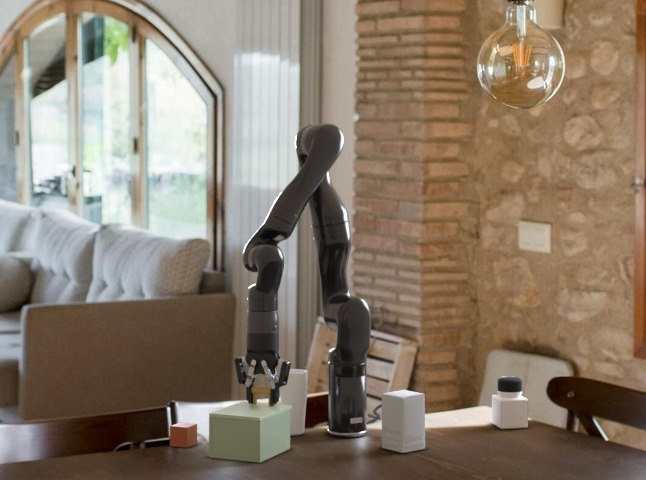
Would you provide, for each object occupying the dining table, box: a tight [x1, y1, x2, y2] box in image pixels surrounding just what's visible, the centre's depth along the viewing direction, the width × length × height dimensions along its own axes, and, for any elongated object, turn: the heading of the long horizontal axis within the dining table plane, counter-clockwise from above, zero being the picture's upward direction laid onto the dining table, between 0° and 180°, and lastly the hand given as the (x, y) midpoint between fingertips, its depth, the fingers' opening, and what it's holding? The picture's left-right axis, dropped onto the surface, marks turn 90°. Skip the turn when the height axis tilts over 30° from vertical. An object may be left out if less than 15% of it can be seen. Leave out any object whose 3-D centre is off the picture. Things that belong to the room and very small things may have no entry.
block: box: [169, 422, 198, 449], centre depth 298 cm, size 5×5×5 cm
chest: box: [208, 410, 291, 464], centre depth 289 cm, size 15×13×9 cm
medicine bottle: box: [491, 375, 529, 430], centre depth 319 cm, size 7×7×12 cm
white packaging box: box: [381, 389, 426, 454], centre depth 294 cm, size 7×7×13 cm
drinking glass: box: [279, 368, 309, 437], centre depth 310 cm, size 7×7×15 cm
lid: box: [208, 385, 292, 421], centre depth 290 cm, size 16×13×5 cm
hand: (262, 403), depth 295 cm, fingers closed on lid, 5 cm apart
